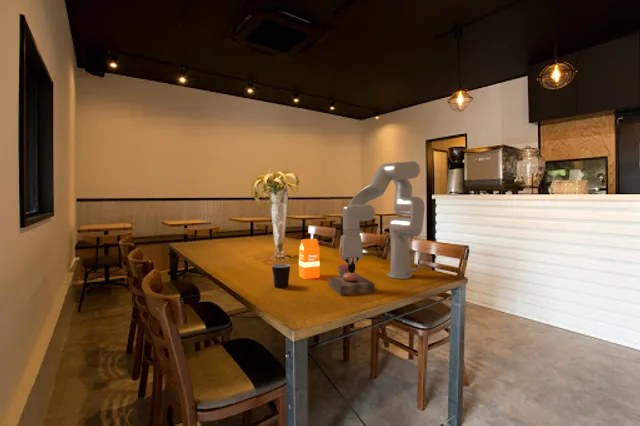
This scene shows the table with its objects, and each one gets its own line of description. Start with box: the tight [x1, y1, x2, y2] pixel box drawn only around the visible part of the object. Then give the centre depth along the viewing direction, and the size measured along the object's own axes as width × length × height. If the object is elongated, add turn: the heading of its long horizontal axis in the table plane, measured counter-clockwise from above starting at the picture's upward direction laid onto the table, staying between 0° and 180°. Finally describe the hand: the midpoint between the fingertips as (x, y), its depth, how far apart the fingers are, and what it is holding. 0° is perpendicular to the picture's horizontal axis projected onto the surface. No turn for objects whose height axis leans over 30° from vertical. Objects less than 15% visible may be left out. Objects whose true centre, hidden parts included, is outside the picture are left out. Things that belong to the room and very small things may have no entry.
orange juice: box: [298, 238, 321, 280], centre depth 172 cm, size 8×9×20 cm
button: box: [343, 272, 359, 281], centre depth 149 cm, size 7×7×2 cm
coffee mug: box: [271, 263, 291, 289], centre depth 155 cm, size 12×9×10 cm
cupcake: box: [336, 262, 350, 277], centre depth 169 cm, size 9×8×12 cm
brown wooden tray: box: [328, 274, 376, 296], centre depth 149 cm, size 16×16×4 cm
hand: (351, 272), depth 149 cm, fingers closed
